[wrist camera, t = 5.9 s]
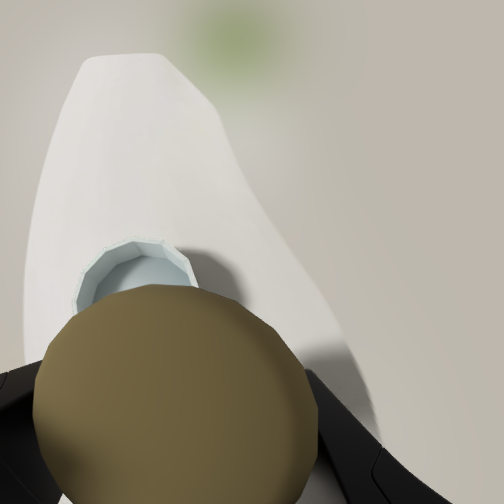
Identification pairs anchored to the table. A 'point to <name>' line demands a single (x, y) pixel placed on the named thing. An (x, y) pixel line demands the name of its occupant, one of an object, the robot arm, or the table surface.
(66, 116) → the table surface
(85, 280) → the bowl
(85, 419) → the cork
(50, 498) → the robot arm
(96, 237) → the table surface
